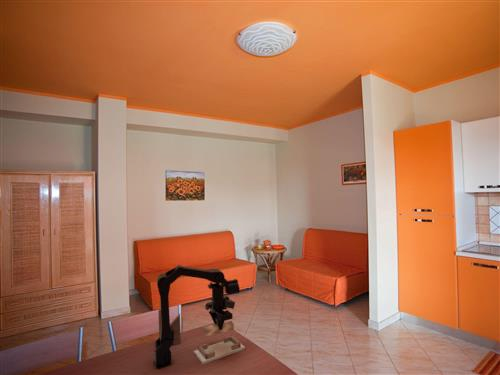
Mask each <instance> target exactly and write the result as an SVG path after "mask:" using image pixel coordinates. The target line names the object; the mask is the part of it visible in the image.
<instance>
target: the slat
mask: <svg viewBox="0 0 500 375" xmlns="http://www.w3.org/2000/svg"><path fill="white" fill-rule="evenodd" d="M234 330H235V323H234V322H233V321H232V320H227V321H224V324H223V328H222V330H219V327H218V325H217V324H211V325H206V326H203V334H204V335H205V337H209V336H213V335H214V336H215V335H217V334H218V335H219V334H222V333H226V332H230V331H234Z"/></svg>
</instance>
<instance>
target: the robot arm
mask: <svg viewBox="0 0 500 375" xmlns="http://www.w3.org/2000/svg"><path fill="white" fill-rule="evenodd" d="M182 276H184V277H189V278H195V279H196V278H197V279H203V280H206V281H209V282H210V283H209V284H208V285H207V288H208V290H211V297H210V301H209V302H206V304H205V305H204V308H205V310H206V311H208V313H209V315H210V317H211V320H212V322H213V325H215V324H217V325H218V327H219V330H222V328H223V324H224V322H227V321H231V320H233V318H234V317H233V315H234V314H233V313H232V312H230V311H229V310H228V309H231V310H234V309H235V306H236V302H235V301H234V300H232V299H230V296H231V295H237V294H240V286H239V280H238V279H237V278H235V279H229V280H227V279H226V278H225V274H224V272H222V270H221V269H220V268H210V269H209V268H208V269H203V268H197V267H196V268H195V267H192V266H191V267H190V266H183V265H180V264H179V265H176V266H175V267H173V268H171V269H170V270H167V271H166V272H165V273H160V274H159V275H158V276H157V277H156V286H157V289H158V294H159V300H160V301H159V302H160V308H161V330H160V337H158V338H157V339H156V340H155V341H154V346H155V348H154V352H153V353H154V360H153V364H154V366H155V368H156V369H157V370H159V369H161V368H162V369H163V368H164V367H167V366H171V365H172V351H171V349H170V348H171V347H172V346H173V345H174V344H173V340H175V337H174V327H173V326H171V327H170V323H171V322H170V321H171V320H170V317H171V316H170V305H169V304H170V301H169V300H170V299H169V294H170V290H171V285H172V284H173V283H174V282H176V281H177V280H178V279H179V278H180V277H182ZM225 294H226V295H227V296H226V295H225Z"/></svg>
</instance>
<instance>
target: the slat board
mask: <svg viewBox="0 0 500 375" xmlns="http://www.w3.org/2000/svg"><path fill="white" fill-rule="evenodd" d="M197 347H198V348H197V349H195V350H193V353H194V356H196V357H197V359H198V360H199V361H200V363H201V364H202V365H204V364H207V363H210V362H213V361H216V360H218V359H221V358H224V357H226V356H228V355H229V356H230V355H232V354H235V353H238V352H240V351H243V350H245V349H246V347H245V346H244V345H243V344H242V343H241V342H240V341H239V340H237V338H235V337H234V336H233V335H229V336H225V337H223V341H219V342H218V343H217V342H216V343H214V344H210V345H209V344H208V343H204V344H201V345H198V346H197Z"/></svg>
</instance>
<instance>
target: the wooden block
mask: <svg viewBox="0 0 500 375" xmlns="http://www.w3.org/2000/svg"><path fill="white" fill-rule="evenodd" d="M171 326H173V327H174V337H175V340H173V345H180V344H181V340H182V339H181V338H182V336H181V333H182V332H181V313H179V314H178V315H177V316H176V317H175V318H174V319H173V320H172V321H171V322H170V327H171ZM160 330H161V307H159V308H158V336H159V337H160ZM159 337H158V338H159Z"/></svg>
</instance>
